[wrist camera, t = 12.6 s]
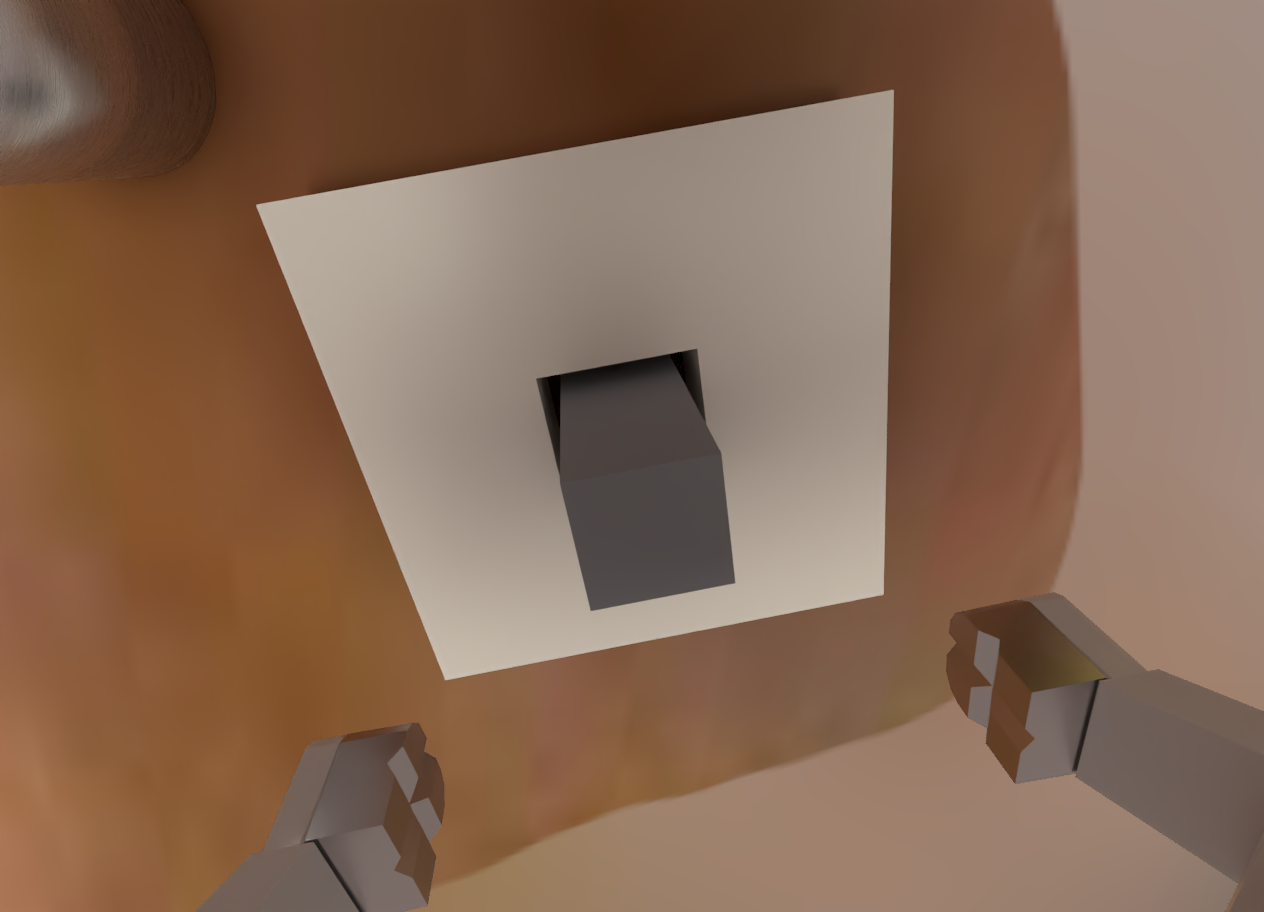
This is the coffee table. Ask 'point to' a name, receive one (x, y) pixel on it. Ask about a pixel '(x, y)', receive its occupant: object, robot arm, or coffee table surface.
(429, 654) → the coffee table surface
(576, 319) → the socket block
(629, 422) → the square peg
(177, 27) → the round peg
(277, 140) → the coffee table surface
